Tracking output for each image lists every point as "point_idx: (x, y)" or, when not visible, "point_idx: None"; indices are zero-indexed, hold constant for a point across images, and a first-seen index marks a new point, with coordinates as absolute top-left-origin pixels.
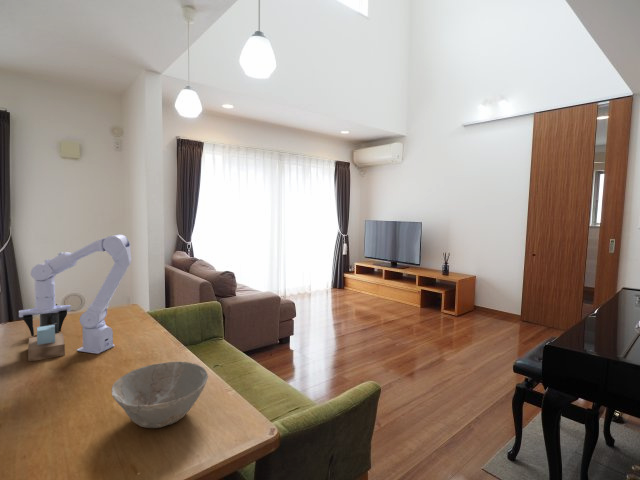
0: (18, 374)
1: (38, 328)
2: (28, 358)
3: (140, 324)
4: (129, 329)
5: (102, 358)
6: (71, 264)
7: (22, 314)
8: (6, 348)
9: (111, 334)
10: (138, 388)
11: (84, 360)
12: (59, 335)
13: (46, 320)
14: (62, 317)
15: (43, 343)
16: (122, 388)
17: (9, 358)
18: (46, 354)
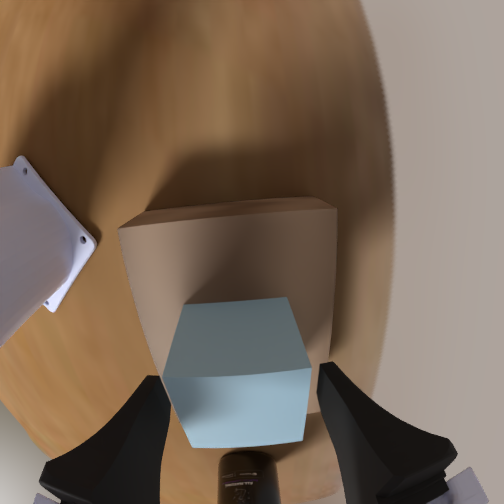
0: (334, 46)
1: (296, 419)
2: (317, 198)
3: (11, 397)
4: (15, 379)
5: (17, 97)
6: None
7: (460, 495)
8: (371, 391)
9: None
10: None
11: (65, 91)
12: None
13: (258, 497)
14: (82, 460)
15: (252, 301)
16: None
17: (379, 290)
18: (228, 205)
